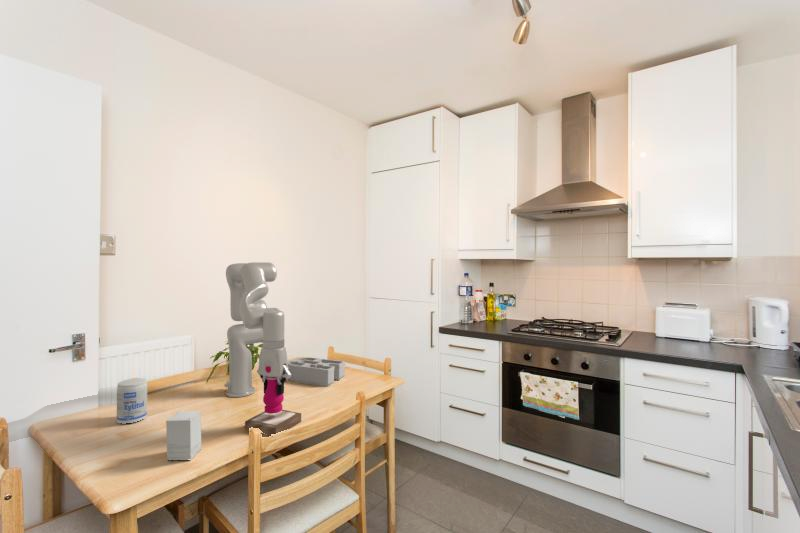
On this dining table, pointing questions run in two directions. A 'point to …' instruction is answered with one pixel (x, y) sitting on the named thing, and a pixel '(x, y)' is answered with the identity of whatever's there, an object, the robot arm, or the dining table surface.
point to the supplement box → (183, 435)
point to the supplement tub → (131, 400)
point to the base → (274, 421)
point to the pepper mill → (272, 395)
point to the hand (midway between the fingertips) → (273, 392)
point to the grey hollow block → (316, 371)
